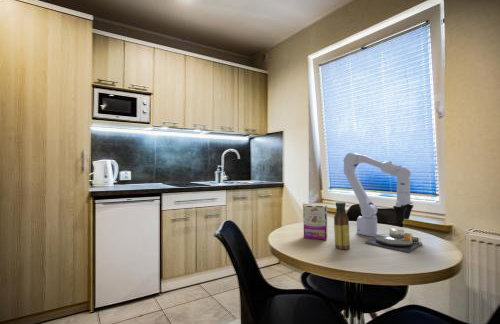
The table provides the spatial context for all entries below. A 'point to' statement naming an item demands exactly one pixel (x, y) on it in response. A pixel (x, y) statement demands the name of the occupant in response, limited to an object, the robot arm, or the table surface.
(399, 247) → the base plate
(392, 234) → the cover
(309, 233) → the candy bar box
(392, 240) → the turntable
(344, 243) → the sauce bottle
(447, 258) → the table surface
